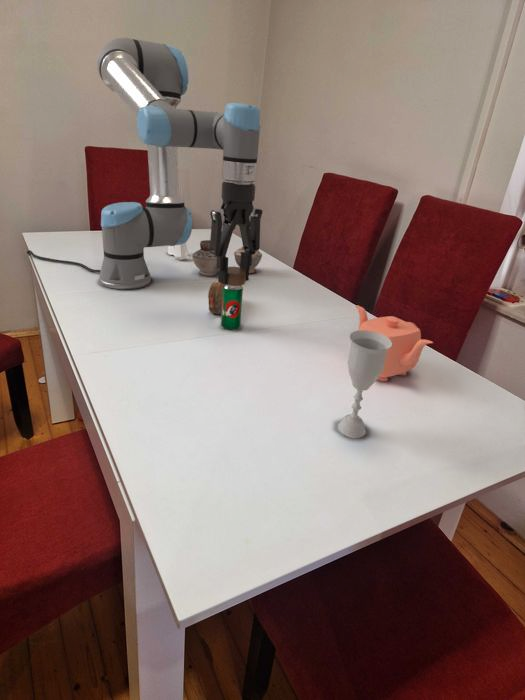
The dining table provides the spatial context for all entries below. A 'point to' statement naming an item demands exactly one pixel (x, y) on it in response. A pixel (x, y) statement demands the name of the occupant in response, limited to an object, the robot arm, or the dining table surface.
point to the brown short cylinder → (236, 276)
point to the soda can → (231, 307)
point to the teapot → (396, 342)
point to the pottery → (209, 261)
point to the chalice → (363, 374)
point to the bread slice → (215, 297)
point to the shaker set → (178, 251)
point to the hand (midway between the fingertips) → (233, 280)
